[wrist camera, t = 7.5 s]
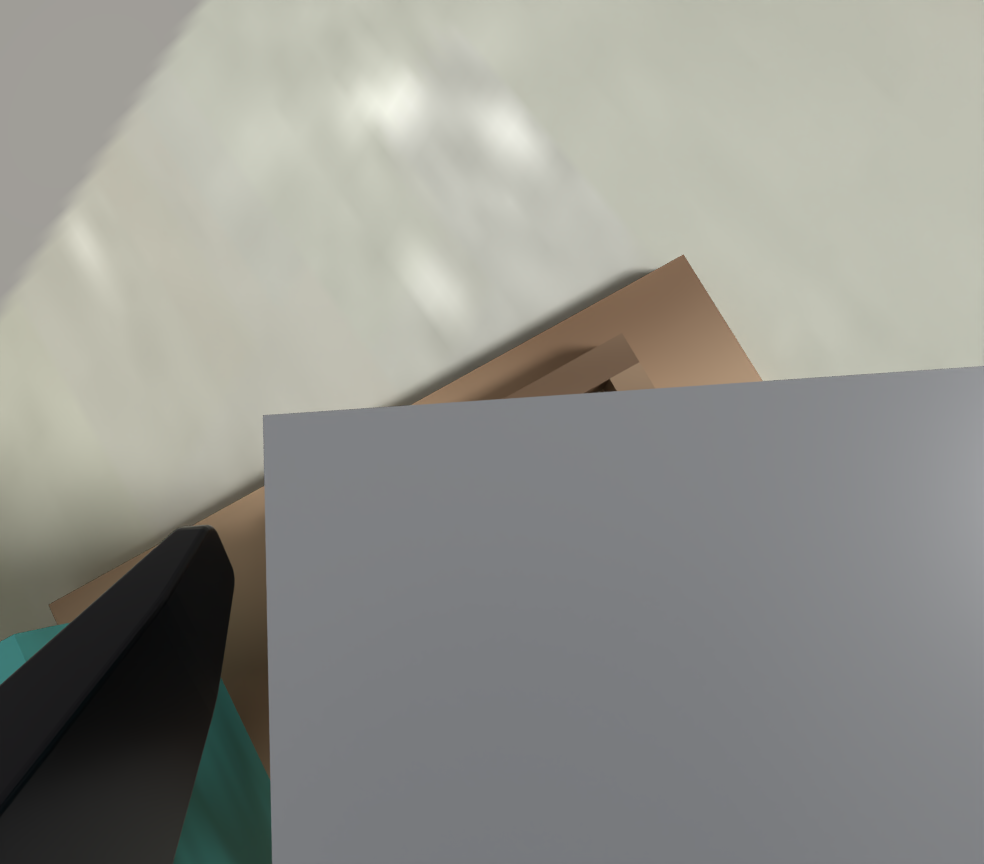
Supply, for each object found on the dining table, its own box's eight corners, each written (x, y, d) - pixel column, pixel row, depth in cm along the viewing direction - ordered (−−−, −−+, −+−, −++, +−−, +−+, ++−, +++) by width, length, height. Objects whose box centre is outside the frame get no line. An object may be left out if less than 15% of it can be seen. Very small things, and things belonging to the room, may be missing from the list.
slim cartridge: (643, 666, 17) (1187, 1255, 3) (469, 676, 17) (269, 1287, 3) (627, 492, 18) (1032, 353, 4) (459, 502, 18) (254, 405, 4)
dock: (906, 640, 18) (1151, 709, 11) (261, 1014, 17) (89, 1338, 10) (674, 268, 19) (762, 122, 12) (73, 600, 19) (-188, 642, 12)
